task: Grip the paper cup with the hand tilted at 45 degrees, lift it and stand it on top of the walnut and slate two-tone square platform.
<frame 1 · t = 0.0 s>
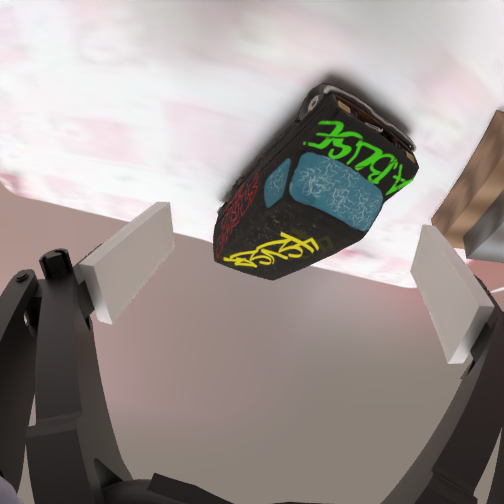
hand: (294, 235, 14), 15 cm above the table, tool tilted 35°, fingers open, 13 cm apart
toy van: (300, 166, 32), on the table
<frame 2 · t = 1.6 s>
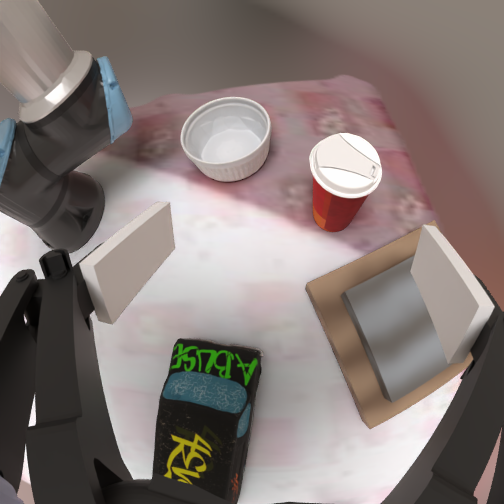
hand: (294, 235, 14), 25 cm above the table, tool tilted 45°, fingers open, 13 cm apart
ramekin: (233, 154, 46), on the table
two-tone square platform: (400, 323, 35), on the table
paper cup: (331, 214, 41), on the table
toy van: (214, 426, 34), on the table
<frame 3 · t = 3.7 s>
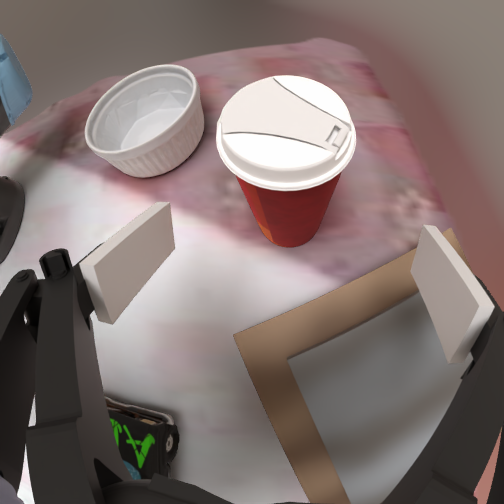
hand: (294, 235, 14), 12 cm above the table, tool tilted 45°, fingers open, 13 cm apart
ramekin: (160, 141, 32), on the table
two-tone square platform: (390, 387, 21), on the table
paper cup: (288, 219, 27), on the table
toy van: (135, 493, 21), on the table
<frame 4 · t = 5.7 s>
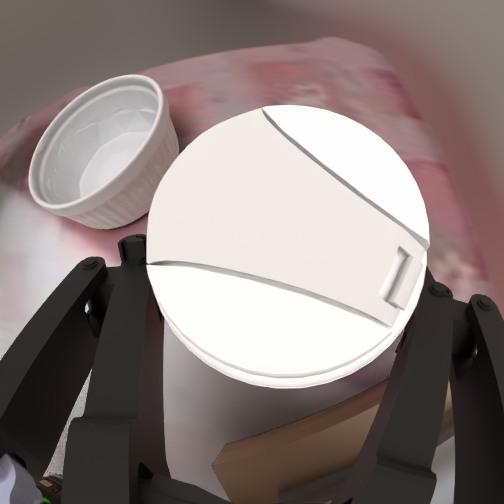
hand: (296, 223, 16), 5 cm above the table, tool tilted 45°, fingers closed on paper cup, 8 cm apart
ramekin: (127, 175, 25), on the table
two-tone square platform: (399, 492, 14), on the table
paper cup: (290, 300, 20), on the table, touching gripper
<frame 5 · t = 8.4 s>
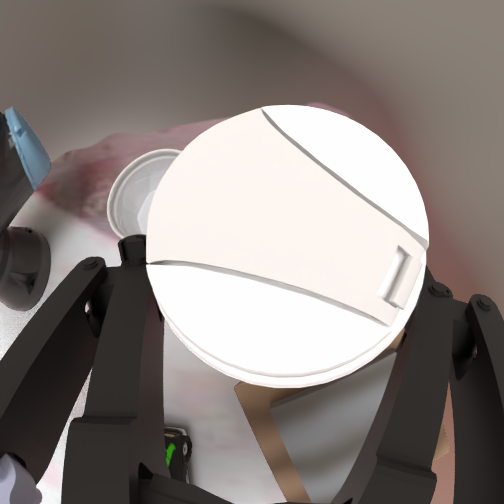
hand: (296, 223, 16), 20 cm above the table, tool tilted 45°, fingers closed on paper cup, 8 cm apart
ramekin: (172, 215, 40), on the table
two-tone square platform: (348, 421, 29), on the table
paper cup: (290, 299, 20), point 15 cm above the table, touching gripper
toy van: (162, 491, 29), on the table
when the fingers open (14 cm above the table, at t = 11.3 s): paper cup drops 1 cm, resting on two-tone square platform.
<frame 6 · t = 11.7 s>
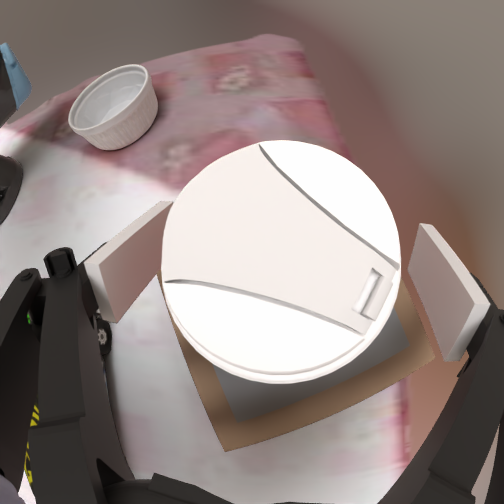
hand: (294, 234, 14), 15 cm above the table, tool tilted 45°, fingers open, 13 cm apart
ramekin: (126, 123, 39), on the table
two-tone square platform: (290, 311, 28), on the table
paper cup: (285, 303, 21), point 7 cm above the table, touching two-tone square platform
toy van: (87, 408, 27), on the table
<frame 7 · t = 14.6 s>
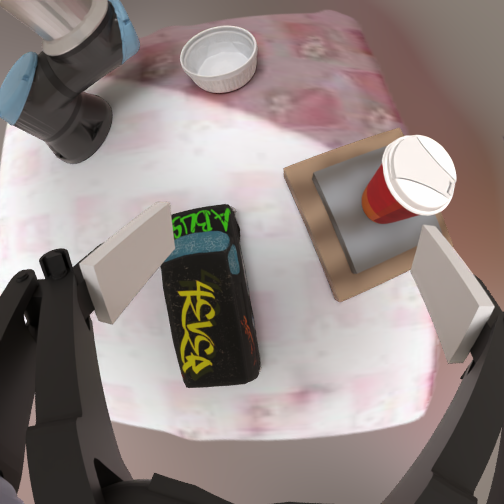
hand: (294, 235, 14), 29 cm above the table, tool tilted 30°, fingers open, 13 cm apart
ramekin: (225, 72, 47), on the table
two-tone square platform: (368, 212, 42), on the table
paper cup: (380, 203, 35), point 7 cm above the table, touching two-tone square platform
toy van: (217, 294, 44), on the table
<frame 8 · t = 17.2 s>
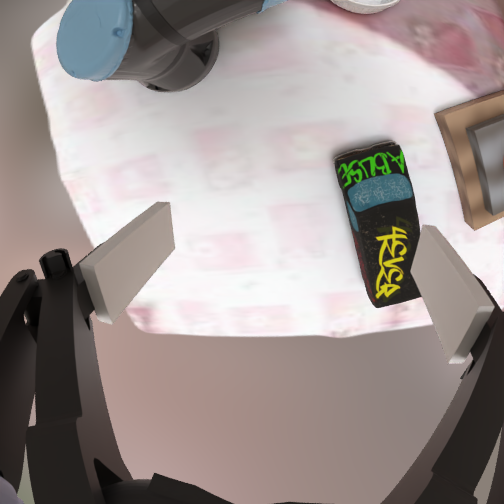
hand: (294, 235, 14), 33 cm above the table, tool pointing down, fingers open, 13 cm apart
two-tone square platform: (494, 153, 35), on the table
toy van: (379, 216, 46), on the table
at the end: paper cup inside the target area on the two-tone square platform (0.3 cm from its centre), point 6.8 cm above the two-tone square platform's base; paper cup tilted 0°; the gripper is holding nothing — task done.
